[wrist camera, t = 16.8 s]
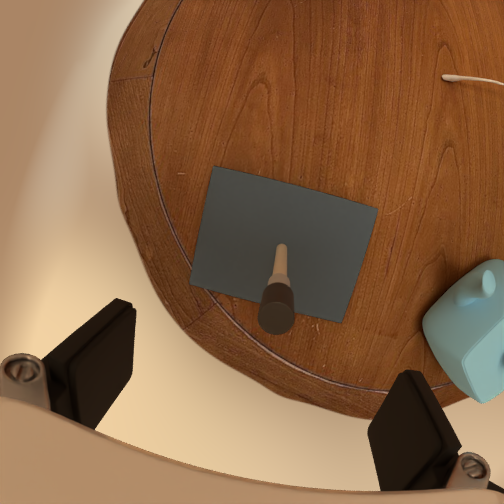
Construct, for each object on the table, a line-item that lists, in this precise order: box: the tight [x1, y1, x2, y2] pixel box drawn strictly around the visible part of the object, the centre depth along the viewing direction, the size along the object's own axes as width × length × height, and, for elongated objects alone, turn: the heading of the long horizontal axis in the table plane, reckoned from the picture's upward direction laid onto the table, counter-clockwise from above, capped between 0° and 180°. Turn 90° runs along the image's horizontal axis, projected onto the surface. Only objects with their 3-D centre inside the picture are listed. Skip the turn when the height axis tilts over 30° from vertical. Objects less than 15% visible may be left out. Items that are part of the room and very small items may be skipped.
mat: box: [189, 166, 378, 323], centre depth 31 cm, size 16×12×1 cm
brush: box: [258, 244, 295, 335], centre depth 23 cm, size 2×2×15 cm
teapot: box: [422, 259, 504, 403], centre depth 25 cm, size 12×18×12 cm
